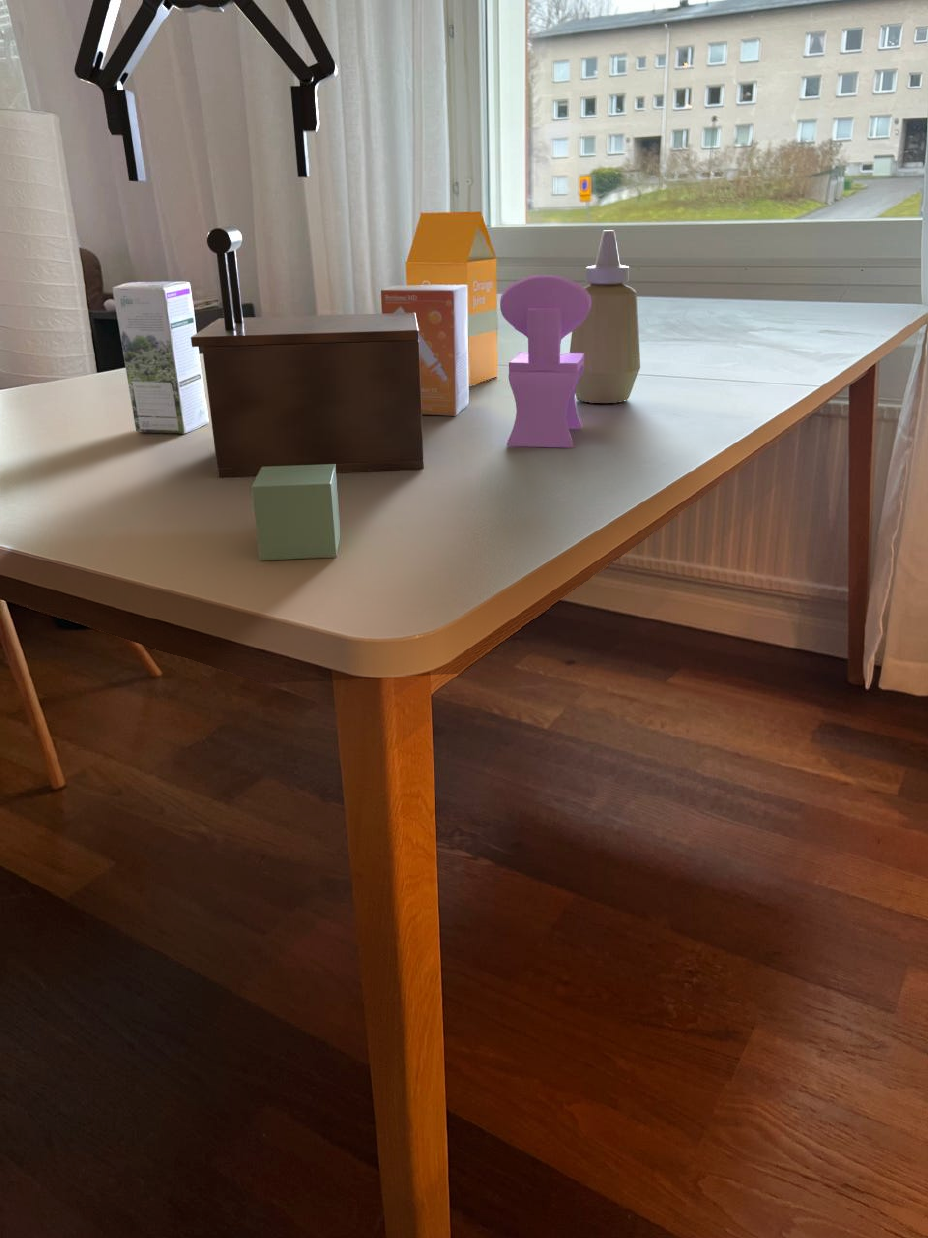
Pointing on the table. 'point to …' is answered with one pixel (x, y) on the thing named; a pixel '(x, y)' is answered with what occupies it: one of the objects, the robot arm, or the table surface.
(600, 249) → the squeeze bottle
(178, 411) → the syrup box
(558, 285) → the toy chair
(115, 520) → the table surface
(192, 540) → the table surface
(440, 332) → the small box
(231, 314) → the lid
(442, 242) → the orange juice
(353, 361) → the chest
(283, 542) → the block
